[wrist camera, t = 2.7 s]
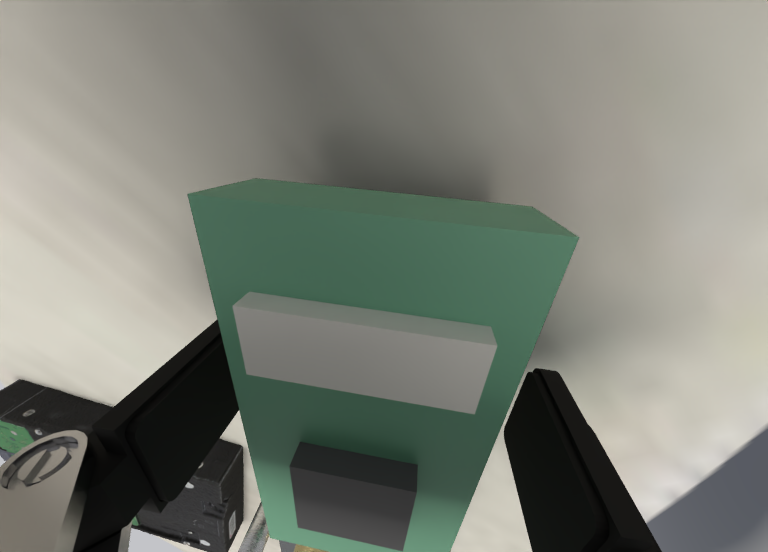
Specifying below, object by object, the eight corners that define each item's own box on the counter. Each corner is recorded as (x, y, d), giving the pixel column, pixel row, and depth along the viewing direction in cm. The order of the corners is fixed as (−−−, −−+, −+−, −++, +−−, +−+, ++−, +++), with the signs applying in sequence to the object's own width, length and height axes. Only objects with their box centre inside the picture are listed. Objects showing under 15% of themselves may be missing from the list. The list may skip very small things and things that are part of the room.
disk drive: (249, 433, 17) (23, 371, 17) (219, 483, 15) (-43, 410, 15) (249, 511, 22) (72, 462, 22) (227, 559, 20) (28, 503, 20)
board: (255, 178, 6) (154, 201, 4) (532, 206, 6) (602, 253, 3) (294, 477, 12) (261, 560, 9) (437, 507, 11) (440, 603, 9)
